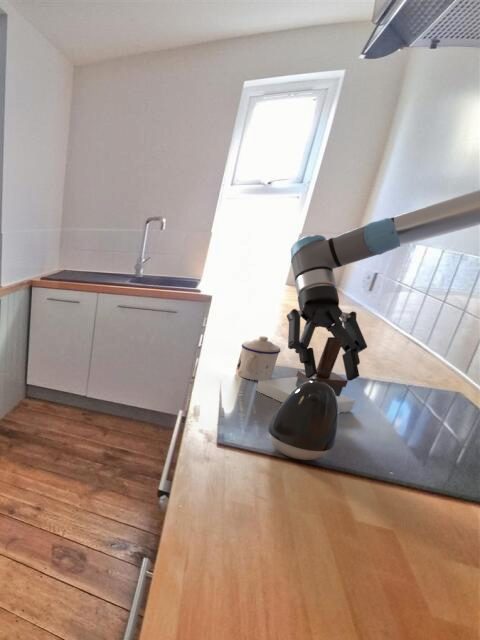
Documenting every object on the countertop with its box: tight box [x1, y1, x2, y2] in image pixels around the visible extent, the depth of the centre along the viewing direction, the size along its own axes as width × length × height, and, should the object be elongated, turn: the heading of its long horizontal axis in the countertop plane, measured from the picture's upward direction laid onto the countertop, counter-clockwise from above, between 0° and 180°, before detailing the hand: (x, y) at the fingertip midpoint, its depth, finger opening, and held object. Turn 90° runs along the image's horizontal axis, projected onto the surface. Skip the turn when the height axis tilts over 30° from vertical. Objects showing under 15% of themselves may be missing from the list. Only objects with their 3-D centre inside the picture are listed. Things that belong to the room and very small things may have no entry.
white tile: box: [255, 376, 356, 413], centre depth 103 cm, size 15×12×3 cm
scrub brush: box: [295, 336, 349, 396], centre depth 97 cm, size 8×6×13 cm
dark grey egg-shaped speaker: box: [267, 381, 339, 461], centre depth 78 cm, size 10×10×15 cm
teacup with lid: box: [235, 335, 281, 382], centre depth 115 cm, size 12×9×12 cm
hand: (332, 376), depth 94 cm, fingers closed on scrub brush, 8 cm apart
